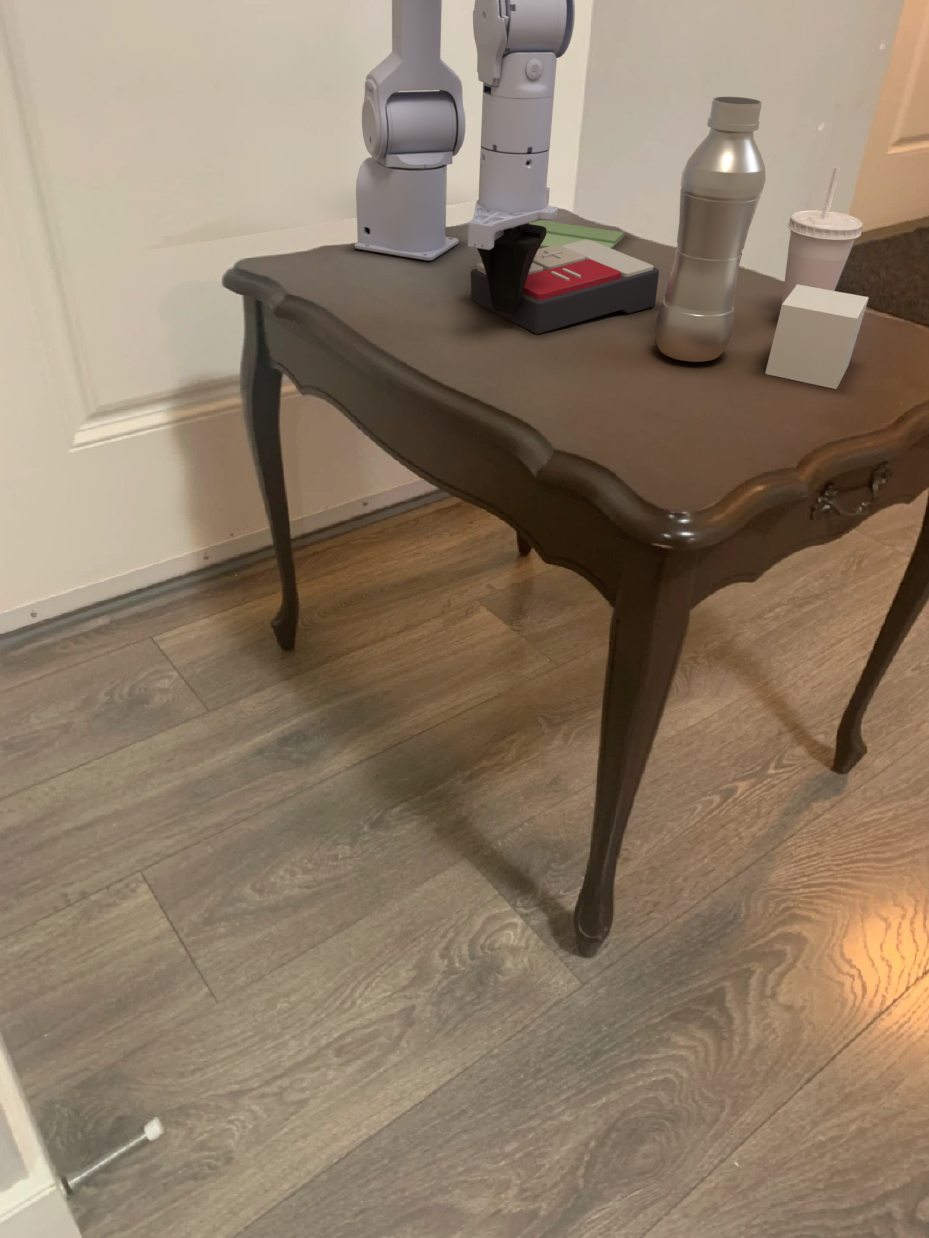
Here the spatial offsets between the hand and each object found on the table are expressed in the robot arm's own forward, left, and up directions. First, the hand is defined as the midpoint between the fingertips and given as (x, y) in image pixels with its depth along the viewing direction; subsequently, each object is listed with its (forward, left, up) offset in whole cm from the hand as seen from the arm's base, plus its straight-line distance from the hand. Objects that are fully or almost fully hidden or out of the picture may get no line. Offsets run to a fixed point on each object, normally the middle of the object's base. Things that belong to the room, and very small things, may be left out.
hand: (505, 310), depth 85 cm
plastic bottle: (+17, +1, -2) cm, 17 cm away
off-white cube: (+27, +3, -2) cm, 27 cm away
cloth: (-5, +30, -2) cm, 31 cm away
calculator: (+3, +9, -2) cm, 10 cm away
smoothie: (+25, +14, -2) cm, 29 cm away
